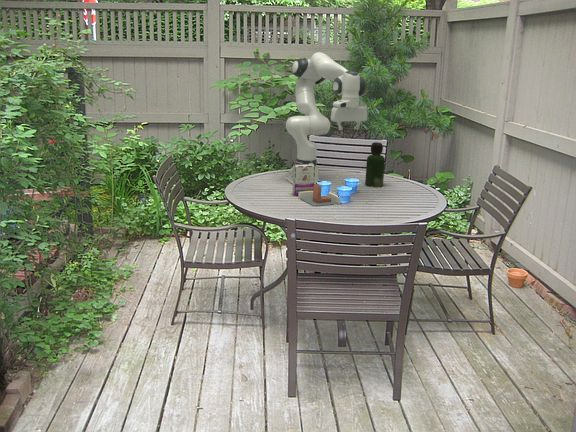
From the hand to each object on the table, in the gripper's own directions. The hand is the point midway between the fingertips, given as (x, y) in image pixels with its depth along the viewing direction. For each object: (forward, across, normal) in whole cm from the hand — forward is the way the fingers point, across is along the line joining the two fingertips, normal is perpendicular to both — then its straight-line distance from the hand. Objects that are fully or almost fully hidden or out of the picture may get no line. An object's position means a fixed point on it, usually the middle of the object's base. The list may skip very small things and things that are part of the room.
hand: (348, 129), depth 334 cm
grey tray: (+36, +18, +5) cm, 41 cm away
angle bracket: (+36, +18, +8) cm, 40 cm away
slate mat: (+36, +18, +6) cm, 41 cm away
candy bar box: (+36, +20, -10) cm, 43 cm away
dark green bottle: (+37, -31, -19) cm, 52 cm away
